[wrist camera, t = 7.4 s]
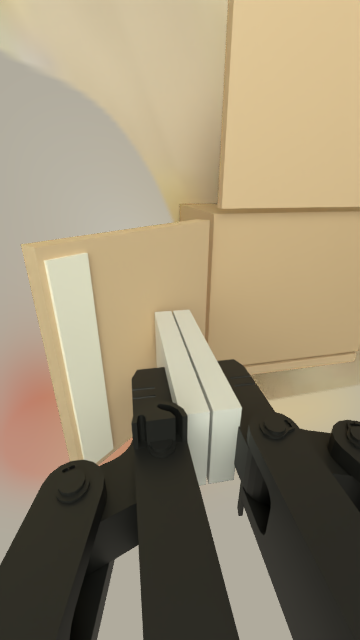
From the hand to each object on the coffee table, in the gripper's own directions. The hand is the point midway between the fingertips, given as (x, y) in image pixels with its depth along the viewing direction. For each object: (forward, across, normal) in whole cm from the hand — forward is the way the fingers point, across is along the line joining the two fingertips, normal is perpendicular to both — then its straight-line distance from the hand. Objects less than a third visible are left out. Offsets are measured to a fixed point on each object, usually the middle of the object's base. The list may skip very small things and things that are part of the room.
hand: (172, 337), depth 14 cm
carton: (+13, +9, +4) cm, 17 cm away
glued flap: (+4, +2, 0) cm, 4 cm away
